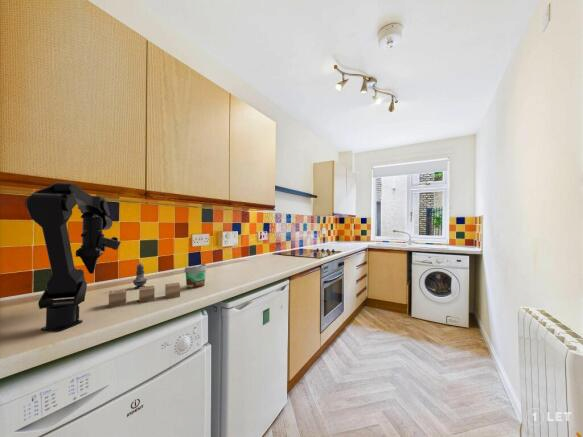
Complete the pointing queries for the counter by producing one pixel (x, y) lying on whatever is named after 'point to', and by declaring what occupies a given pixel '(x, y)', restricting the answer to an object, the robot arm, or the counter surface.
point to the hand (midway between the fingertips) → (91, 273)
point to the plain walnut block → (146, 294)
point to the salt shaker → (139, 277)
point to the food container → (195, 276)
